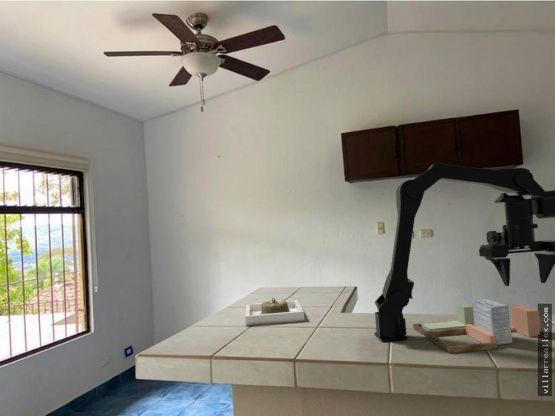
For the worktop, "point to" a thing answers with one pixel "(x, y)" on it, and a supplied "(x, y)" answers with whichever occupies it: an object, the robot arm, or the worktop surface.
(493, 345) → the lane rails
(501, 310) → the medicine box
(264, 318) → the white ceramic dish
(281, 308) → the cake
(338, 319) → the worktop surface
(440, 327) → the sage green stepped block
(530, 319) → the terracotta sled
